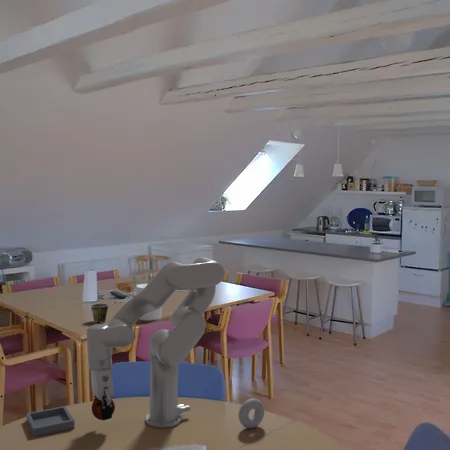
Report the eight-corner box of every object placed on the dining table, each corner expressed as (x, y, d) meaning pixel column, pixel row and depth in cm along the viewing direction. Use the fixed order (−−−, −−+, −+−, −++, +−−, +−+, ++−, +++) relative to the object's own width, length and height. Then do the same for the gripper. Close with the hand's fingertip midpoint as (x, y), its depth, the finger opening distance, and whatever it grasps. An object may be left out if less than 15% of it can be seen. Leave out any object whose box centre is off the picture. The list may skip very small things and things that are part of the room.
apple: (87, 421, 168) (85, 398, 167) (102, 411, 175) (101, 389, 174) (104, 425, 164) (103, 401, 164) (120, 415, 171) (118, 392, 171)
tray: (65, 413, 182) (65, 405, 181) (74, 427, 170) (74, 420, 170) (26, 420, 175) (26, 413, 175) (33, 436, 164) (33, 428, 164)
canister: (165, 318, 319) (166, 287, 317) (141, 321, 311) (141, 289, 309) (155, 313, 332) (156, 282, 331) (132, 315, 324) (132, 284, 323)
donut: (260, 422, 177) (261, 394, 177) (266, 426, 174) (266, 397, 174) (236, 428, 172) (236, 400, 171) (241, 433, 169) (242, 403, 169)
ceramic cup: (90, 320, 311) (90, 304, 311) (107, 319, 314) (107, 303, 314) (91, 325, 299) (91, 308, 298) (109, 324, 302) (109, 308, 301)
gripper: (119, 368, 162) (122, 421, 164) (103, 353, 177) (106, 402, 179) (96, 373, 158) (99, 427, 160) (81, 357, 173) (84, 407, 175)
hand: (103, 413), depth 169 cm, fingers closed on apple, 7 cm apart
